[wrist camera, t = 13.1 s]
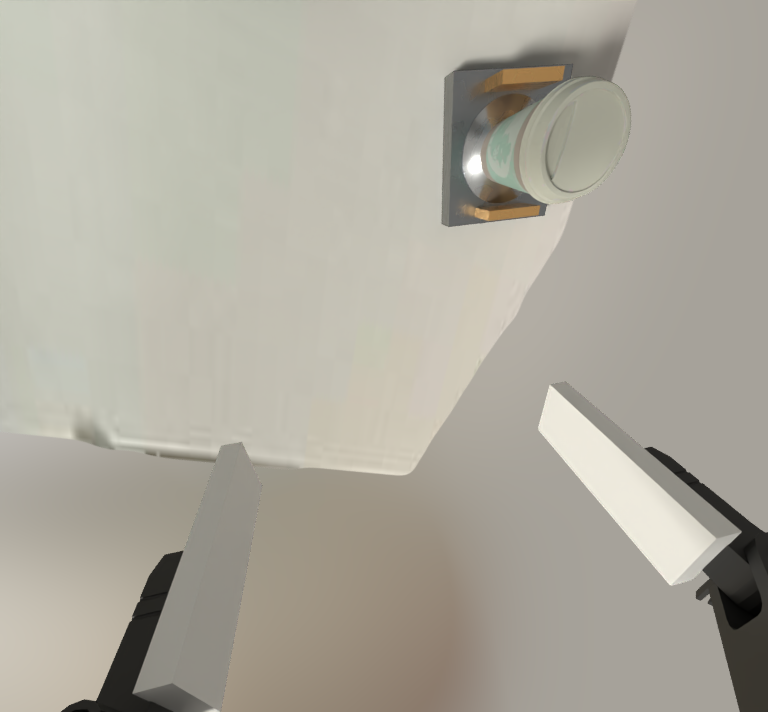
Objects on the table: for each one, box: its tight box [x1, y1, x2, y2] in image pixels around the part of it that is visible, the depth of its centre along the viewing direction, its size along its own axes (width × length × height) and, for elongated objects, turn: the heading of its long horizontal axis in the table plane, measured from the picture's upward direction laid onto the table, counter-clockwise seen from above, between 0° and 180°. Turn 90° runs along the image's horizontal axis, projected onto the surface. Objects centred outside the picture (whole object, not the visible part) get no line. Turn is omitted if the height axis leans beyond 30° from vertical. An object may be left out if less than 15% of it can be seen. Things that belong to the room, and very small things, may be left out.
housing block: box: [442, 64, 573, 227], centre depth 33 cm, size 14×13×6 cm
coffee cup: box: [480, 76, 631, 204], centre depth 28 cm, size 9×9×12 cm
